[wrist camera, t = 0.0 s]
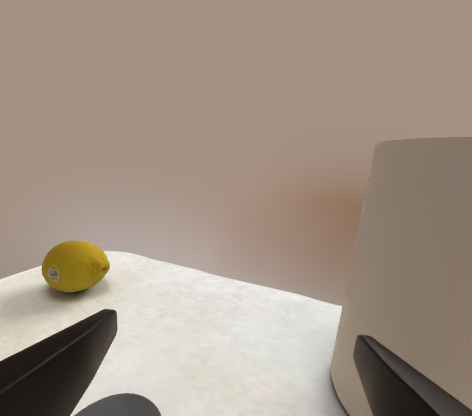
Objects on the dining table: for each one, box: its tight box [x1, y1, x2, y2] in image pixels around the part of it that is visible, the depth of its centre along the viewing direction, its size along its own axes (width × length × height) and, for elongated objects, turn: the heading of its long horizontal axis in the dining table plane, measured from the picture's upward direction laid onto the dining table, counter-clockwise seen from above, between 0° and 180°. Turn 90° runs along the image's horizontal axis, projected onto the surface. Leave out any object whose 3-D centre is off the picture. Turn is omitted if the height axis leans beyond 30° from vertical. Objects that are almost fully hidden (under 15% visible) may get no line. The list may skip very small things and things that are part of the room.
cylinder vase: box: [331, 137, 472, 416], centre depth 20 cm, size 12×12×25 cm
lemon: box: [42, 241, 110, 292], centre depth 36 cm, size 11×8×8 cm
